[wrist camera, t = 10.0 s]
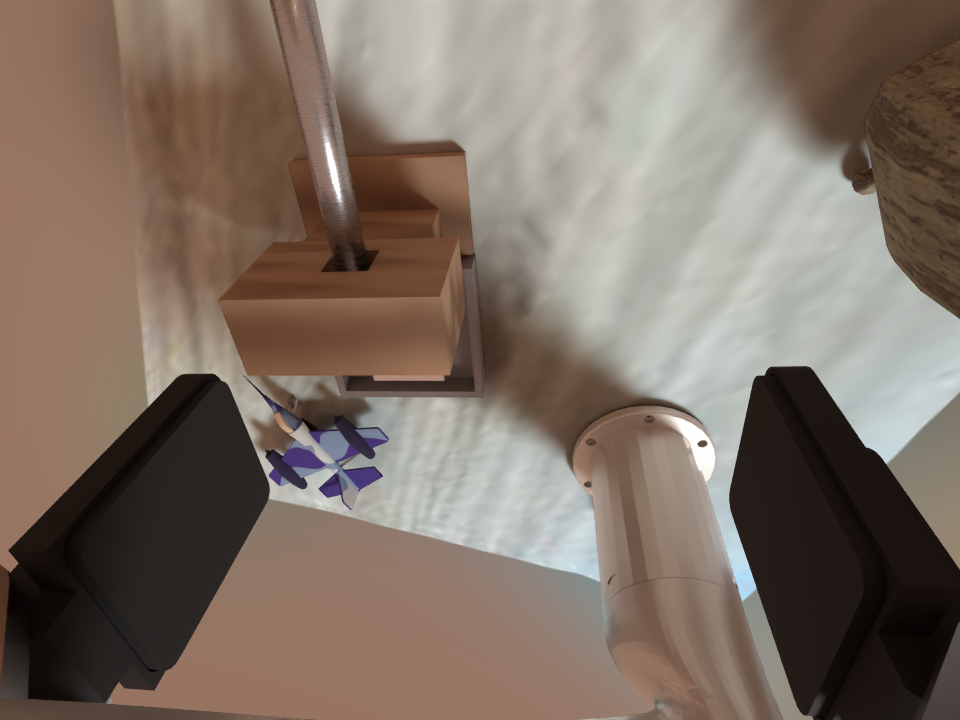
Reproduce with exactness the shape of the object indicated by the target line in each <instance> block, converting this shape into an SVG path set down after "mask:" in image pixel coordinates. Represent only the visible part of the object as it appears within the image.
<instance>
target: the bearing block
mask: <svg viewBox="0 0 960 720" xmlns="http://www.w3.org/2000/svg"><path fill="white" fill-rule="evenodd" d="M347 158H348V163H349V168H350V173H351V178H352V183H353V188H354V193H355V197H356V202H357V207H358V212H359V217H360V222H361V227H362V232H363V237H364V241H365V246H366V251H367V256H368V261H369V266H370V268H369V270H368V271H349V272H335V268H334V264H333V260H332V255H331V251H330V247H329V243H328V239H327V235H326V231H325V227H324V223H323V219H322V215H321V211H320V206H319V202H318V198H317V194H316V190H315V186H314V182H313V178H312V174H311V170H310V166H309V162H308V159H298V160H293V161H291V162H290V163H289V164H288V165H289V169H290V173H291V177H292V180H293V184H294V188H295V192H296V195H297V199H298V203H299V207H300V210H301V214H302V218H303V222H304V225H305V229H306V233H307V238H306V239H305V241H304V242H278V243H273V244H272V245H271V246H270V247H269V248H268V249H267V250H266V251H265V252H264V253H263V254H262V255H261V256H260V257H259V258H258V260H257V261H256V262H255V263H254V264H253V265H252V266H251V267H250V268H249V269H248V270H247V271H246V272H245V273H244V274H243V275H242V276H241V277H240V278H239V279H238V280H237V281H236V282H235V283H234V285H233V286H232V287H231V288H230V289H229V290H228V291H227V292H226V293H225V294H224V295H223V296H222V297H221V298H220V299H219V300H218V301H219V304H220V306H221V309H222V312H223V314H224V317H225V319H226V322H227V324H228V327H229V329H230V332H231V335H232V337H233V340H234V342H235V345H236V347H237V350H238V352H239V355H240V357H241V360H242V363H243V365H244V368H245V370H246V373H247V375H450V374H451V369H452V365H453V361H454V356H455V352H456V348H457V343H458V339H459V335H460V330H461V326H462V322H463V317H464V313H465V309H466V305H465V295H464V285H463V275H462V265H461V255H472V253H473V238H472V226H471V214H470V203H469V191H468V179H467V167H466V156H465V151H462V152H442V153H421V154H401V155H380V156H359V157H347Z"/></svg>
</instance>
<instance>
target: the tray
mask: <svg viewBox="0 0 960 720" xmlns="http://www.w3.org/2000/svg"><path fill="white" fill-rule="evenodd" d="M461 265H462V275H463V285H464V295H465V305H466V309H465V313H464V317H463V322H462V326H461V330H460V335H459V339H458V343H457V348H456V352H455V356H454V361H453V365H452V369H451V374H450V375H446V377H445V381H374V378H373V375H335V377H336V380H337V384H338V388H339V391H340V395H341V397H483V394H484V387H485V380H486V377H485V365H484V353H483V341H482V329H481V317H480V305H479V293H478V282H477V270H476V258H475V254H472V255H461Z"/></svg>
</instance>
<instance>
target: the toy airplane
mask: <svg viewBox="0 0 960 720" xmlns="http://www.w3.org/2000/svg"><path fill="white" fill-rule="evenodd" d="M241 374H242V373H241ZM242 375H243V374H242ZM243 376H244V375H243ZM244 377H245V376H244ZM245 378H246V377H245ZM246 379H247V378H246ZM247 380H248V379H247ZM248 381H249V380H248ZM249 382H250V381H249ZM250 383H251V382H250ZM251 384H252V383H251ZM252 385H253V384H252ZM253 386H254V385H253ZM254 387H255V386H254ZM255 389H256V390H257V391H258V392H259V393H260V394H261V395H262V396H263V398H264V399H265V400H266V402H267V403H268V404H269V405H270V407H271V408H272V410H273V411H274V413H275V414H274V417H275V419H276V421H277V422H278V424H279V426H280V427H281V428H282V429H283V430H284V431H286V432H287V433H288V434H289V435H290V436H292V437H293V438H295V439H296V440H295V441H294V443H293V444H292V445H291V447H290V448H289V449H288V450H287V452H286V453H285V454H284V456H282V455H280V454H279V453H278V452H276V451H275V450H274V449H273V450H271V451H269V450H266V449H265V450H266V453H267V454H266V456H265V458H267V459H268V461H269V462H270V463H271V464H272V466H273V467H274V469H273V470H272V472H271V473H270V474H269V477H270V478H271V479H272V480H273V481H275V482H276V483H277V484H278V485H279V486H283V485H286V484H288V483H292V484H293V485H295V486H297V487H298V488H300V489H305V488H306V487H307V482H306V480H305V479H304V477H306V476H308V475H310V474H313V473H315V472H318V471H320V470H323V469H325V468H330V469H331V470H332V471H333V472H334V473H335V474H334V475H333V476H332V477H331V478H330V479H329V480H328V481H326V482H325V483H324V484H323V485H322V486H321V487H320V488H319V490H320V491H321V492H322V493H323V494H324V495H325V496H326V497H327V498H328V497H333V496H337V495H341V498H342V502H343V503H344V504H345V505H346V506H347V507H348V508H349V509H350V510H351V509H353V506H354V503H355V501H356V498H357V495H358V492H359V491H360V489H362V488H364V487H366V486H367V485H369V484H371V483H373V482H374V481H376V480H378V479H380V478H381V477H383V475H382V474H381V473H380V472H379V471H378V470H377V469H376V468H375V467H366V468H357V469H347V470H344V469H343V468H342V466H343V465H345V464H346V463H348V462H349V461H350V460H352V459H353V458H355V457H356V456H357V455H359V453H361V454H363V455H364V456H365V457H367V458H369V459H372V458H374V457H375V452H374V450H373V448H374V447H376V446H378V445H381V444H383V443H386V442H388V437H387V436H386V435H385V434H384V433H383V432H382V430H381V429H380V428H378V427H371V428H357V427H356V426H354V425H353V424H352V423H351V422H349V421H348V420H347V419H346V418H344V417H343V416H342V415H341V416H339V417H338V416H335V415H334V418H335V420H334V422H333V423H334V424H335V425H336V427H337V428H338V429H333V430H319V429H317V428H316V427H315V426H313V425H312V424H311V423H309V422H308V421H306V420H305V419H303V418H302V419H300V418H298V417H297V416H295V410H296V407H297V406H298V399H296V398H295V397H290V398H289V399H288V403H289V406H288V411H287V410H286V409H284V408H283V407H281V406H280V405H278V404H277V403H275V402H274V401H272V400H271V399H270V398H268V397H267V396H266V395H264V394H263V393H262V392H261V391H260V390H259V389H258V388H257V387H255ZM290 406H291V407H293V408H294V411H293V414H292V413H290V412H289V410H290ZM351 456H353V457H352V458H350V459H349V460H347V461H346V462H345V463H343V464H342V465H340V464H339V463H338V462H339V461H342V460H344V459H347V458H349V457H351Z"/></svg>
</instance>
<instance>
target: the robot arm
mask: <svg viewBox="0 0 960 720" xmlns="http://www.w3.org/2000/svg"><path fill="white" fill-rule="evenodd" d="M715 463H716V453H715V447H714V444H713V442H712V439H711V436H710V434H709V433H708V432H707V430H706V429H705V427H704V426H703V425H702V424H701V423H699V422H698V421H697V420H696V419H694V418H693V417H691V416H689V415H688V414H686V413H683V412H681V411H678V410H675V409H672V408H667V407H662V406H646V405H645V406H635V407H628V408H624V409H620V410H616V411H614V412H612V413H609V414H607V415H604V416H603V417H601V418H599V419H598V420H596V421H594V422H593V423H592V424H591V425H590V426H588V427H587V428H586V429H585V430H584V431H583V433H582V434H581V435H580V437H579V438H578V440H577V442H576V444H575V446H574V451H573V470H574V474H575V477H576V479H577V481H578V483H579V484H580V486H581V487H582V488H583V489H584V490H585V491H586V492H587V493H588V494H590V495H591V496H592V497H593V505H594V517H595V528H596V540H597V551H598V563H599V574H600V586H601V597H602V608H603V622H604V633H605V639H606V644H607V647H608V650H609V653H610V655H611V657H612V659H613V661H614V663H615V665H616V667H617V669H618V670H619V672H620V673H621V674H622V676H623V677H624V678H625V680H626V681H627V682H628V683H629V684H630V685H631V687H632V688H633V689H634V690H635V691H636V692H637V693H638V694H639V695H640V697H641V698H643V700H644V701H645V702H646V703H647V704H648V705H649V706H650V707H651V708H652V709H653V710H652V711H650V712H647V713H641V714H632V715H628V717H612V718H596V719H581V720H784V719H783V717H782V714H781V712H780V709H779V707H778V705H777V702H776V700H775V697H774V695H773V693H772V690H771V688H770V685H769V682H768V679H767V676H766V674H765V671H764V668H763V665H762V662H761V659H760V656H759V653H758V650H757V647H756V644H755V641H754V638H753V635H752V632H751V629H750V626H749V622H748V619H747V616H746V613H745V609H744V606H743V604H742V600H741V597H740V593H739V590H738V586H737V583H736V580H735V577H734V573H733V570H732V567H731V564H730V560H729V557H728V554H727V551H726V547H725V544H724V541H723V538H722V534H721V531H720V528H719V525H718V521H717V518H716V515H715V512H714V508H713V505H712V502H711V499H710V495H709V492H708V489H707V486H706V482H707V481H708V479H709V478H710V476H711V475H712V473H713V470H714V467H715ZM269 492H270V488H269V482H268V480H267V477H266V475H265V473H264V470H263V468H262V465H261V463H260V460H259V458H258V456H257V453H256V451H255V448H254V446H253V443H252V441H251V439H250V436H249V434H248V431H247V429H246V427H245V424H244V422H243V419H242V417H241V414H240V412H239V410H238V407H237V405H236V402H235V400H234V397H233V395H232V393H231V390H230V388H229V386H228V384H226V383H225V382H223V381H221V380H220V378H219V377H218V376H216V375H214V374H183V375H180V376H179V377H177V378H176V379H175V380H174V381H173V382H172V383H171V384H170V385H169V386H168V387H167V388H166V389H165V390H164V391H163V392H162V394H161V395H160V396H159V397H158V398H157V399H156V400H155V401H154V402H153V403H152V404H151V405H150V406H149V407H148V408H147V409H146V410H145V411H144V412H143V413H142V414H141V415H140V416H139V417H138V418H137V419H136V420H135V421H134V422H133V423H132V424H131V425H130V426H129V427H128V429H126V430H125V431H124V432H123V434H122V435H121V436H120V437H119V438H118V439H117V440H116V441H115V442H114V443H113V444H112V445H111V446H110V447H109V448H108V449H107V450H106V451H105V452H104V453H103V454H102V455H101V456H100V457H99V458H98V459H97V460H96V461H95V462H94V463H93V464H92V465H91V466H90V467H89V468H88V469H87V470H86V471H85V473H83V474H82V476H81V477H80V478H79V479H78V480H77V481H76V482H75V483H74V484H73V485H72V486H71V487H70V488H69V489H68V490H67V491H66V492H65V493H64V494H63V495H62V496H61V497H60V498H59V499H58V500H57V501H56V502H55V503H54V504H53V505H52V506H51V507H50V508H49V509H48V510H47V511H46V512H45V513H44V515H43V516H42V517H41V518H40V519H39V520H38V521H37V522H36V523H35V524H34V525H33V526H32V527H31V528H30V529H29V530H28V531H27V532H26V533H25V534H24V535H23V536H22V537H21V538H20V539H19V540H18V541H17V542H16V543H15V544H14V545H13V546H12V547H11V548H10V549H9V552H10V553H11V554H12V556H13V557H14V558H15V559H16V560H17V562H18V563H19V564H18V565H17V566H16V567H15V568H14V569H13V570H12V571H11V573H10V572H9V571H8V570H7V569H6V568H4V567H3V566H2V565H0V720H312V719H299V718H287V717H274V716H262V715H249V714H236V713H222V712H210V711H196V710H183V709H170V708H156V707H144V706H130V705H116V704H112V700H111V693H112V692H113V690H114V688H115V687H116V685H117V684H118V682H120V683H121V685H122V686H123V687H124V688H129V689H141V690H155V688H156V687H157V685H158V683H159V681H160V680H161V678H162V676H163V674H164V673H165V671H166V670H168V669H170V668H172V667H173V666H174V665H175V664H176V662H177V661H178V659H179V658H180V656H181V654H182V653H183V651H184V649H185V647H186V645H187V644H188V642H189V640H190V638H191V637H192V635H193V633H194V631H195V629H196V628H197V626H198V624H199V622H200V620H201V619H202V617H203V615H204V613H205V612H206V610H207V608H208V606H209V605H210V603H211V601H212V599H213V597H214V596H215V594H216V592H217V590H218V589H219V587H220V585H221V583H222V581H223V580H224V578H225V576H226V574H227V573H228V571H229V569H230V567H231V565H232V564H233V562H234V560H235V558H236V557H237V554H238V553H239V551H240V549H241V547H242V546H243V544H244V542H245V540H246V539H247V537H248V535H249V533H250V532H251V530H252V528H253V526H254V525H255V523H256V521H257V519H258V517H259V515H260V514H261V512H262V510H263V509H264V507H265V505H266V503H267V501H268V498H269ZM729 502H730V509H731V513H732V516H733V519H734V522H735V525H736V528H737V531H738V534H739V537H740V540H741V543H742V546H743V549H744V552H745V555H746V558H747V561H748V564H749V566H750V569H751V572H752V575H753V578H754V581H755V584H756V587H757V590H758V593H759V596H760V599H761V602H762V605H763V608H764V611H765V614H766V616H767V620H768V623H769V626H770V628H771V631H772V634H773V637H774V640H775V643H776V646H777V649H778V652H779V655H780V658H781V661H782V664H783V667H784V670H785V673H786V676H787V679H788V682H789V685H790V688H791V691H792V693H793V696H794V699H795V702H796V704H797V707H798V709H799V710H800V712H801V713H802V714H803V715H806V716H813V719H814V720H960V569H959V568H958V566H957V565H956V564H955V562H954V561H953V559H952V558H951V556H950V555H949V554H948V552H947V551H946V549H945V548H944V546H943V545H942V544H941V542H940V541H939V539H938V538H937V536H936V535H935V534H934V532H933V531H932V529H931V528H930V526H929V525H928V524H927V522H926V521H925V519H924V518H923V516H922V515H921V514H920V512H919V511H918V509H917V508H916V506H915V505H914V503H913V502H912V501H911V499H910V498H909V496H908V495H907V494H906V492H905V491H904V489H903V488H902V486H901V485H900V483H899V482H898V481H897V479H896V478H895V476H894V475H893V474H892V472H891V471H890V469H889V468H888V466H887V465H886V463H885V462H884V461H883V459H882V458H881V457H880V456H879V455H878V454H877V453H876V452H875V451H874V450H872V449H870V448H866V447H865V446H864V444H863V443H862V441H861V440H860V438H859V437H858V435H857V434H856V432H855V431H854V430H853V428H852V427H851V425H850V424H849V422H848V421H847V419H846V418H845V416H844V415H843V413H842V412H841V410H840V409H839V407H838V406H837V405H836V403H835V402H834V400H833V399H832V397H831V396H830V394H829V393H828V391H827V390H826V388H825V387H824V385H823V384H822V383H821V381H820V380H819V378H818V377H817V375H816V374H815V372H814V371H813V370H812V369H811V368H810V367H807V366H791V367H770V368H768V370H767V371H766V373H765V376H756V377H755V379H754V381H753V385H752V390H751V394H750V399H749V404H748V408H747V413H746V418H745V422H744V427H743V432H742V436H741V441H740V445H739V450H738V455H737V459H736V464H735V469H734V473H733V478H732V483H731V487H730V493H729Z"/></svg>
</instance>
